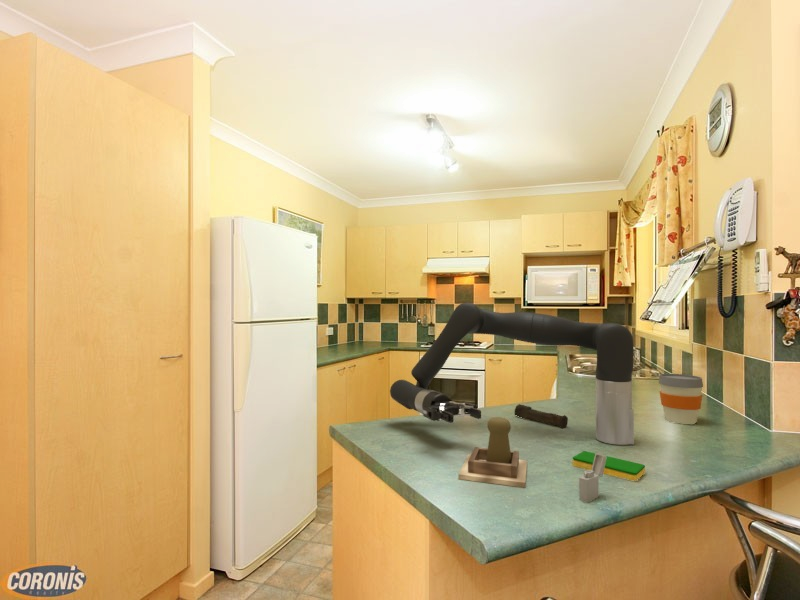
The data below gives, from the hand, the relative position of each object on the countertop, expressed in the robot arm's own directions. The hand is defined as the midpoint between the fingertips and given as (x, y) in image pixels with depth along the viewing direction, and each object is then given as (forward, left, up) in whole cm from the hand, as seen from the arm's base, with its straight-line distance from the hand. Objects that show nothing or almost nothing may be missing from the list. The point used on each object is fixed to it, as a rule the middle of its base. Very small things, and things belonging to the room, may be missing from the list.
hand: (466, 416), depth 108 cm
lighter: (-28, +15, -10) cm, 33 cm away
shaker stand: (-8, +8, -10) cm, 15 cm away
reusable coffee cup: (-63, -58, -10) cm, 86 cm away
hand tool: (-17, -41, -10) cm, 46 cm away
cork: (-9, +7, -9) cm, 15 cm away
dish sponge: (-33, -2, -11) cm, 34 cm away
